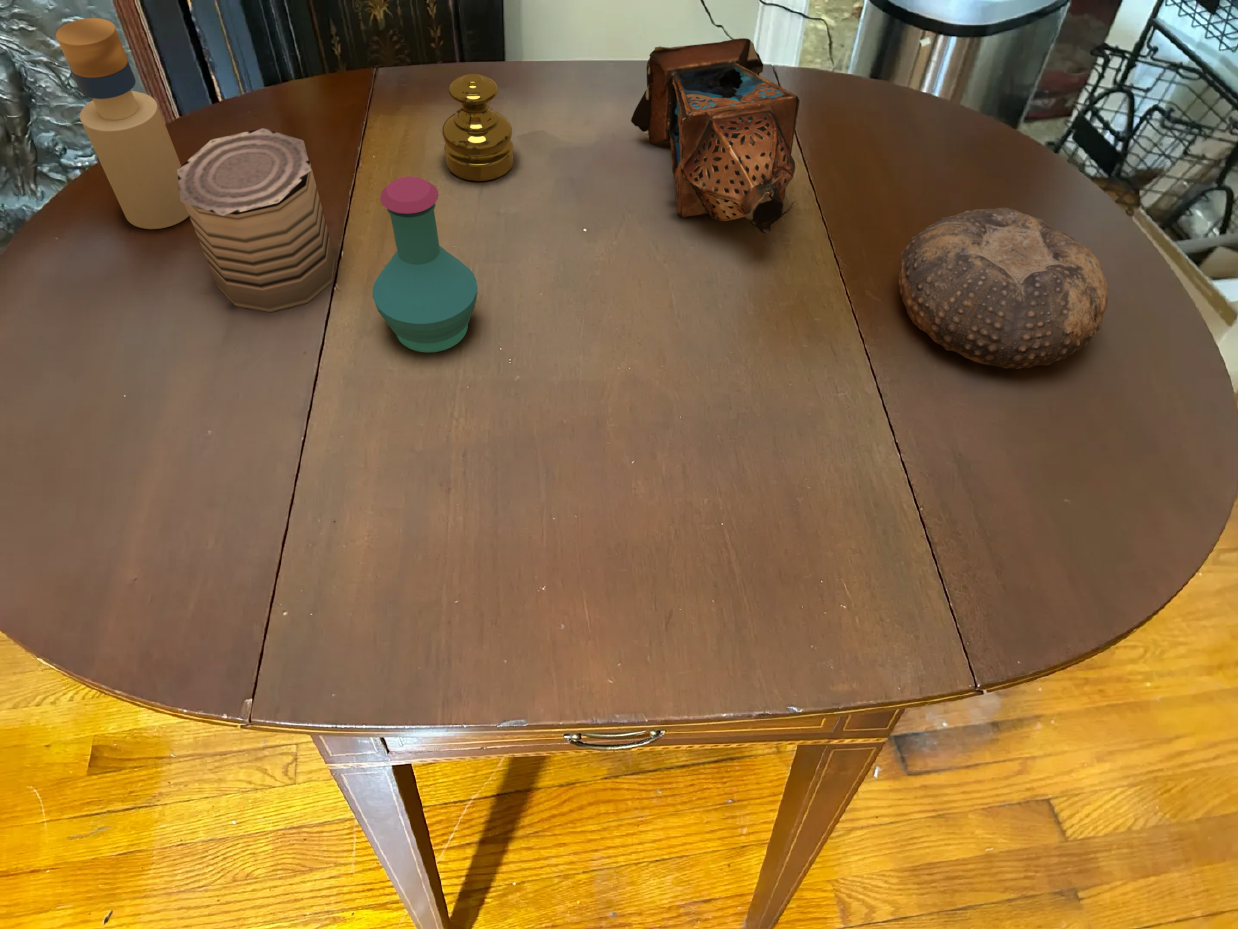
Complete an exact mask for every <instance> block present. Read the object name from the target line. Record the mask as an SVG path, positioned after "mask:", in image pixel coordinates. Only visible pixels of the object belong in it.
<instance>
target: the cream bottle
mask: <svg viewBox="0 0 1238 929" xmlns="http://www.w3.org/2000/svg"><path fill="white" fill-rule="evenodd" d="M69 70H70V73H71V74H72V77H73V80H74V81H75V83H76V86H77V88H78V90H79V92H80V94H82V95H83V96H85V97H86V98H90V99H92V100H91V101H89V102H88V103H86V104H85V105H84V106H83V107H82V108H81V110H80V113H79V120H80V122H81V124H82V126H83V128H84V131H85V133H86V136H87V137H88V139H89V142H90V144H91V146H92V149H93V150H94V152H95V155H96V156H97V159H98V161H99V163H100V165H101V167H102V169H103V172H104V174H105V176H106V178H107V180H108V182H109V184H110V187H111V189H112V191H113V193H114V195H115V197H116V200H117V201H118V204H119V206H120V208H121V211H122V212H123V215H124V217H125V219H126V220H127V222H128V223H130V224H131V225H133V226H134V227H136V228H139V229H146V230H160V229H165V228H169V227H172V226H175V225H177V224H179V223H181V222H183V221H185V220H186V219H188V218H189V214H188V212H187V209H186V207H185V204H184V203H183V202H181V199H180V192H179V182H178V174H177V169H178V168H179V167H181V166H182V164H181V162H180V159H179V156H178V154H177V152H176V149H175V147H174V144H173V141H172V138H171V135H170V133H169V131H168V128H167V126H166V123H165V121H164V118H163V115H162V113H161V110H160V108H159V104H158V102H157V101H156V100H155V99H154V98H153V97H152V96H151V95H149V94H147V93H143V92H141V91H132V89H133V88H134V87H135V86H136V81H137V80H136V77H135V75H134V72H133V70H132V68H131V65H130V62H129V61H128V63H127V65H126V66H125V67H124V68H123V69H122V70H120V71H118V72H117V73H114V74H112V75H108V76H104V77H97V78H87V77H81V76H78V75H76V74H74V73H73V72H72V71H71V69H70V68H69Z"/></svg>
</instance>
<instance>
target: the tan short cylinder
mask: <svg viewBox="0 0 1238 929" xmlns="http://www.w3.org/2000/svg"><path fill="white" fill-rule="evenodd" d="M55 38H56V40H57V42H58V45H59V47H60V49H61V51H62V54H63V55H64V58H65V61H66V62H67V64H68V66H69V70H70V69H71V70H70V72H71V71H72V72H73V73H74V74H76V75H78V76H81V77H87V78H97V77H104V76H108V75H112V74H114V73H117V72H118V71H120V70H122V69H123V68H124V67H125V66H126V65H127V63H128V62H129V58H128V55H127V53H126V50H125V49H124V45H123V43H122V41H121V39H120V36H119V33H118V30H117V28H116V26H115V24H114V23H113V22H112V21H111V20H108V19H104V18H98V17H87V18H81V19H76V20H73V21H70V22H67V23H65V24H63V25H62V26H60V27H59V28H58V29H57V30H56V34H55Z"/></svg>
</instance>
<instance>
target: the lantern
mask: <svg viewBox="0 0 1238 929" xmlns="http://www.w3.org/2000/svg"><path fill="white" fill-rule="evenodd" d="M648 56H649V58H648V61H647V62H646V90H645V91H644V93H643V95H642V96H641V98H640V99H639V102H638V104H637V105H636V107H635V109H634V111H633V114H632V116H631V119H630V123H632V124H633V125H634V127H637V128H639V129H640V131H641V132H642V133H643V134H644V135H645V136H646V137H647V138H648V141H649V143H651V144H653V145H654V144H660V143H665V142H670V153H671V161H672V162H671V163H672V167H671V168H672V174H673V182H674V190H675V202H676V212H677V215H679V216H680V217H682V218H687V217H694V216H702V215H707V214H708V215H709V216H710V217H711V218H712V219H713V220H717V221H720V222H729V221H735V220H739V219H746V220H748V221H749V222H750V224H751V225H753V226H754V227H755V228H756V229H757V230H759V232H761V233H762V234H768V233H770V232H771V231H772V230H771V229H772V226H773V225H774V224H775V223H777V222H779V220H780V219H781V218H782V217H784V216H785V215H786V214H787V213H788V212H789V211H790V210H791V209H792V208H793V206H794V204H796V202H797V200H794V201H792V202H791V204H790V206H788V207H787V209H785V210H784V200H785V197H786V192H787V191H786V189H787V187H788V185H789V184H790V182H791V181H792V180H793V178H794V174H795V172H796V162H795V159H794V158H793V155H792V153H793V146H794V138H795V132H796V127H797V119H798V115H799V109H800V108H799V107H800V103H801V102H800V99H799V96H798V95H796V94H794V93H792V92H791V91H789V90H787V89H785V88H784V87H783V86H780V85H778V84H777V83H775V82H773V81H771V80H769V79H767V78H765V77H763V76H761V75H760V74H762V73H763V71H764V63H763V61H762V58H761V57H760V54H759V53H758V52H757V50H756V48H755V44H754V42H753V41H751V39H750V38H745V37H741V38H739V37H738V38H734V39H729V40H728V39H727V40H723V41H718V42H708V43H707V42H706V43H699V44H698V43H697V44H690V45H678V46H671V47H668V46H661V45H659V46H655V47H654V49H653V50H652V51H651V52H650V53H649V55H648Z"/></svg>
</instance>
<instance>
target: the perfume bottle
mask: <svg viewBox="0 0 1238 929" xmlns="http://www.w3.org/2000/svg"><path fill="white" fill-rule="evenodd" d="M379 198H380V199H379V200H380V202H381V204H382V206H383V207H384V208H386V211H387V212H388V214H389V216H390V221H391V226H392V231H393V237H394V242H395V247H396V252H395V253H394V254H393V255H392V257H391V259H390V260H389V261H388V262H387V263H386V265H385V266H383V269H382V270H381V271H380V273H379V274H378V275H377V277H376V278H375V281H374V283H373V286H372V290H371V291H372V292H371V293H372V299H373V302H374V305H375V307H376V310H377V312H378V313H379V315H380V316H381V317H382V319H383V320H384V322H385V324H387V325H388V326H389V328H390V329H391V330H392V332H393V333H394V334H395V335H396V338H397V339H398V341H399V342H400V343H401V344H402V345H403V346H404V347H406V348H407V349H409V350H412V351H415V352H419V353H439V352H443V351H446V350H448V349H451V348H452V347H454V346H455V345H457V344H459V343H460V342H461V341H462V340H463V339H464V337H465V336H466V334H467V331H468V327H469V325H468V324H469V323H470V321H471V317H472V313H473V311H474V309H475V306H476V303H477V298H478V281H477V277H476V276H475V273H474V272H473V271H472V270H471V268H470V267H468V266H467V265H466V264H465V263H463V262H462V261H461V260H460V259H458V258H457V257H455V256H454V255H453V254H451V253H450V252H448V251H447V250H446V249H444V248H443V247H442V246H441V245H440V241H439V235H438V229H437V222H436V215H435V209H436V203H437V201H438V199H439V190H438V188H437V187H436V185H434V184H433V183H431V182H429V180H428V181H427V180H425V179H424V178H421V177H417V176H412V175H411V176H402V177H397V178H396V179H394V180H392V181H391V182H389V183H388V184H387V185H386V186H385V187H384V188H383V189H382V191H381V193H380V196H379Z"/></svg>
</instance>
